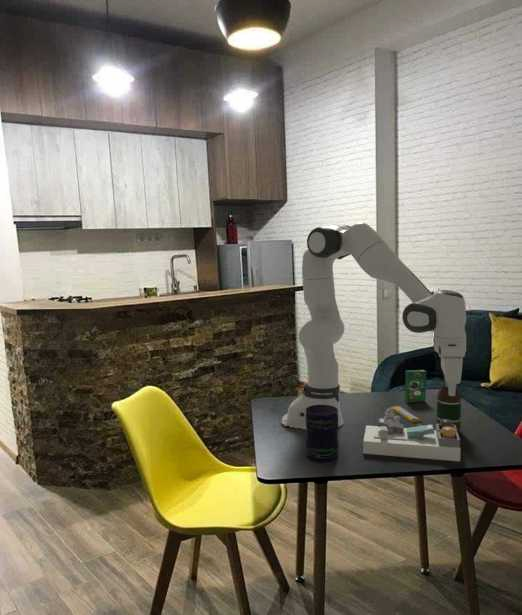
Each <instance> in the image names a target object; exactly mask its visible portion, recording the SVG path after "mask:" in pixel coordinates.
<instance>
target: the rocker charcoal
mask: <svg viewBox="0 0 522 615" xmlns="http://www.w3.org/2000/svg"><path fill="white" fill-rule="evenodd" d="M388 425H390V426H393V431H396V432H400V433H403V430H404V428H405V425H404V424H403V423H401V422H400V423H396V422H392V421H389V420H385V419H383V418H380V417H378V420H377V426H378V427H381V426H385V427H387V429H388Z"/></svg>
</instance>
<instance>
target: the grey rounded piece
mask: <svg viewBox="0 0 522 615" xmlns="http://www.w3.org/2000/svg"><path fill="white" fill-rule="evenodd" d="M382 419H385V420H393V422H396V423H400V424H401V422H400V420H401V417H400V415H396V412H395V411H394V410H393V409H391V406H388V408H387V409H386V411H385V412H384V417H383V418H382Z"/></svg>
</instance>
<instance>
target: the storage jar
mask: <svg viewBox="0 0 522 615" xmlns="http://www.w3.org/2000/svg"><path fill="white" fill-rule="evenodd" d="M337 413H338V409H337V408H336V407H334V406H330V405H313V406H309V407H307V408H306V428H307V429H306V439H305V440H306V441H305V444H306V445H305V449H306V458H307V460H308V461H310V462H312V463H316V464H331V463H335V462H336V461H337V460H338V459H339V449H340V448H339V443H340V442H339V438H338V429H339V427H338V414H337Z"/></svg>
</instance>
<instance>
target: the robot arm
mask: <svg viewBox="0 0 522 615" xmlns="http://www.w3.org/2000/svg"><path fill="white" fill-rule="evenodd" d="M306 246H307V250H306V251H304V252H303V255H302V260H301V278H302V289H303V291H302V292H303V301H304V303H305V305H306V306H307V308H308V311H309V314H310V319H311V320H308V321H307V322H305V323H304V324H303V325H302V327H301V328H300V330H299V332H298V340H299V343H300V345H301V346H302V348H303V350H304V354H305V359H306V365H307V381H306V382H304V383H303V384H302V394H301V395H300V396H298V397H297V398H296V399H294V400H293V401H292V402H291V403H290V405H289V406H288V409H287V413H286V414H284V415H283V416H282V418H281V425H282V424H283V425H284V426H283V425H282V426H283V427H286V426H289V428H293V427H294V428H295V429H300V428H301V430H307V428H306V408H307V407H309V406H313V405H330V406H334V407H336V408H337V409H338V413H337V414H338V428H340V427H341V426H343V424H344V420H343V415H342V411H341V406H340V405H341V404H340V400H341V386H340V383H339V363H338V361H337V359H336V356H335V351H334V344H336V343H338V342H339V341H340V340H341V339H342V336H343V335H344V333H345V325H344V321H343V320H342V319H341V314H340V311H339V307H338V304H337V300H336V293H335V292H336V291H335V280H334V271H333V266H334V262H335V261H336V260H342V259H344V258H345V257H348V256H350V255H351V256H352V258H353V259H354V260H355V262H356V263H357V265H358V266H359V267H360V268H361V269H362V271H364V273H366V275H368V276H369V277H370V278H371V279H374V280H379V281H384V282H388V283H390V284H393V285H395V286H396V287H398V289H400V290H401V291H402V292H403V293H404V294H405V295H406V297H407V298H408V299H409V300H410V301H411V302H412V303H409V304H408V305H407V306H405V308H404V310H403V311H402V322H403V325H404V327H405V328H406V329H407V330H408V331H410V332H412V333H416V334H423V333H426V332H427V333H428V332H433V335H434V336H433V337H434V338H433V343H434V344H433V345H434V346H433V348H434V352H436V353H438V357H439V358H440V367H441V370H442V373H443V377H444V376H445V385H446V387H448V394H449V396H455V390H456V387H457V385H459V384H460V383H461V380H462V372H463V362H464V360H463V358H464V357H465V356H466V352H467V332H466V327H465V326H466V323H467V310H466V308H467V307H466V300H465V297H464V296H463V295H462V294H461V293H459V292H458V291H453V290H448V289H441V290H437V291H436V292H434V293H433V292H431V291H430V289H428V287H426V285H425V284H424V282H422V281H421V280H420V279H419V277H417V276H416V274H414V272H413V271H412V270H411V269H410V268H409V267H408V266H407V265H406V264H405V263H404V262H403V261H402V260H401V259H400V258H399V257H398V256H397V255H396V253H395V252H394V251H393V249H392V248H391V246H389V244H387V242H386V241H385V240H384V239H383V238H382V236H381V235H380V233H378V232H377V231H376V230H375V229H374V228H372V227H371V226H370V225H369V224H368V223H365V222H356V223H355V224H352V225H351V226H350V225H346V224H345V225H342V224H341V225H340V224H332V225H326V226H325V225H321V226H317V227H315V228H313V229H312V230H311V231H310V232H309V233H308V236H307V239H306Z"/></svg>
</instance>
